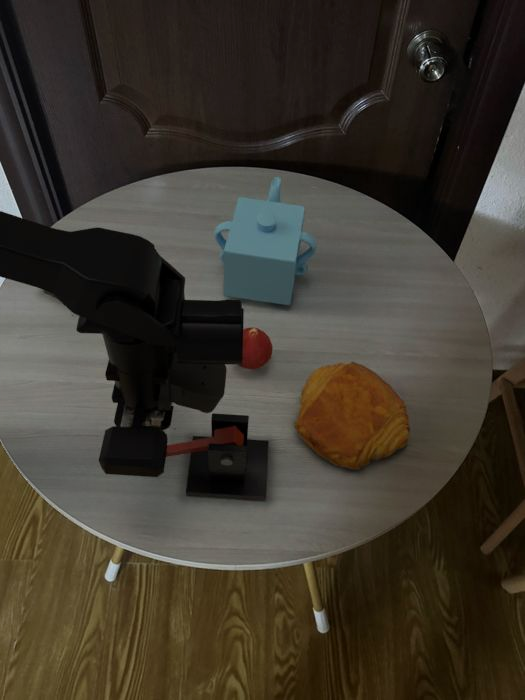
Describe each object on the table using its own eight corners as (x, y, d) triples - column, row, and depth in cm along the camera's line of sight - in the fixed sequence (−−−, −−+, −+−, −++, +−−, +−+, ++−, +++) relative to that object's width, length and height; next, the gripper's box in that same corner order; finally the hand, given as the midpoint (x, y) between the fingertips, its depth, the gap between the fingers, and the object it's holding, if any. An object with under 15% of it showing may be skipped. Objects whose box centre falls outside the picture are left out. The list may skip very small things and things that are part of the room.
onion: (236, 383, 88) (237, 350, 81) (226, 352, 91) (226, 317, 85) (275, 376, 89) (279, 342, 83) (264, 345, 92) (267, 310, 86)
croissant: (342, 371, 93) (347, 333, 87) (424, 435, 84) (435, 398, 78) (270, 423, 86) (269, 385, 80) (351, 497, 78) (356, 461, 72)
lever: (154, 479, 76) (144, 471, 74) (161, 436, 80) (152, 428, 78) (242, 465, 72) (232, 456, 70) (245, 420, 76) (236, 411, 74)
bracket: (186, 496, 77) (181, 461, 70) (193, 439, 82) (189, 400, 74) (265, 501, 78) (270, 466, 70) (268, 444, 82) (272, 406, 74)
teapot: (305, 314, 96) (315, 255, 86) (207, 299, 97) (205, 238, 87) (317, 236, 107) (327, 175, 97) (229, 223, 108) (229, 161, 97)
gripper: (211, 440, 54) (214, 509, 67) (228, 284, 66) (227, 369, 78) (85, 432, 54) (111, 503, 67) (123, 277, 65) (139, 363, 78)
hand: (152, 429), depth 72 cm, fingers closed
